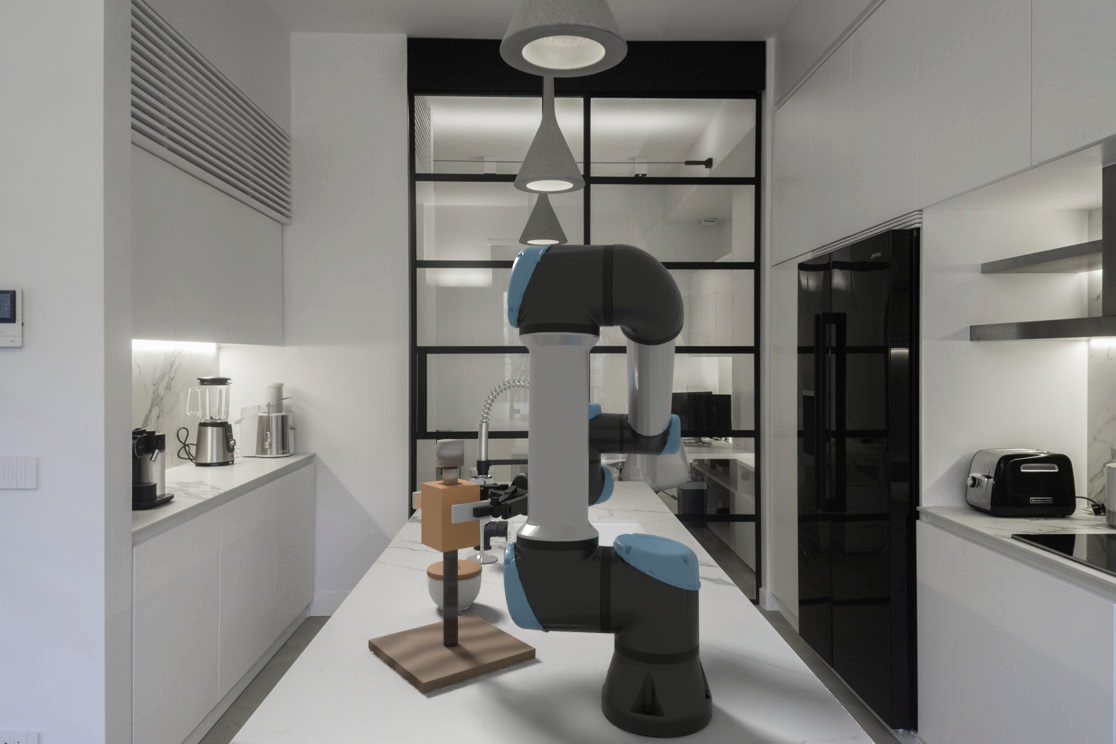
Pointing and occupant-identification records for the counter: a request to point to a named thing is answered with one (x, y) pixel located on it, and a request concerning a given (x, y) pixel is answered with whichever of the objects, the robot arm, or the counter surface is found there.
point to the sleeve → (448, 516)
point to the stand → (450, 624)
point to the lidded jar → (466, 583)
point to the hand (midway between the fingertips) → (431, 507)
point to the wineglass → (482, 526)
